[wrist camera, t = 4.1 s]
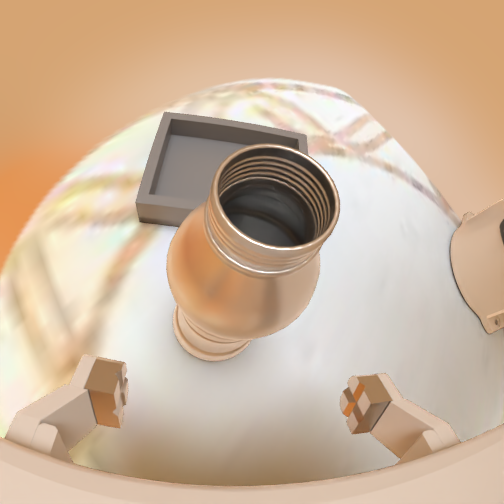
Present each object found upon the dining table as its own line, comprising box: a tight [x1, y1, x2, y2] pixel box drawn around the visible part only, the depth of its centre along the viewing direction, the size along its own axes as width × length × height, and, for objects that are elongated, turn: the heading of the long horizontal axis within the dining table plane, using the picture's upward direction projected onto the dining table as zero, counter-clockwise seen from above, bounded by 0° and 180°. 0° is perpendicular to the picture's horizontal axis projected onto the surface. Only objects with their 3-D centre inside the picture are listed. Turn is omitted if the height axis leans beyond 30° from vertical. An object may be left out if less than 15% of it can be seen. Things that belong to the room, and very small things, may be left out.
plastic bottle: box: [166, 143, 340, 361], centre depth 17 cm, size 6×7×20 cm
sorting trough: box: [135, 112, 308, 227], centre depth 31 cm, size 16×12×4 cm
